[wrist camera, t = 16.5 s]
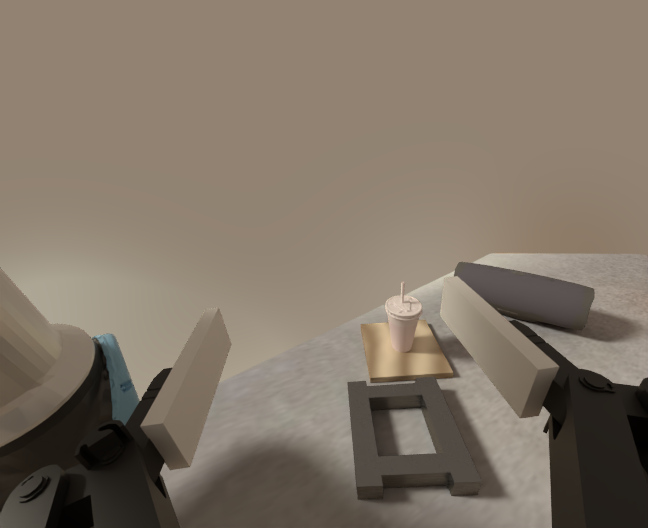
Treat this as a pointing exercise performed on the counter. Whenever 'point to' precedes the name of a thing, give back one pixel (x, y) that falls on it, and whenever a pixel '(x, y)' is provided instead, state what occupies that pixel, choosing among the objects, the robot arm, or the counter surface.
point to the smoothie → (403, 319)
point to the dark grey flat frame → (409, 469)
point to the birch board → (403, 355)
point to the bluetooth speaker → (529, 295)
